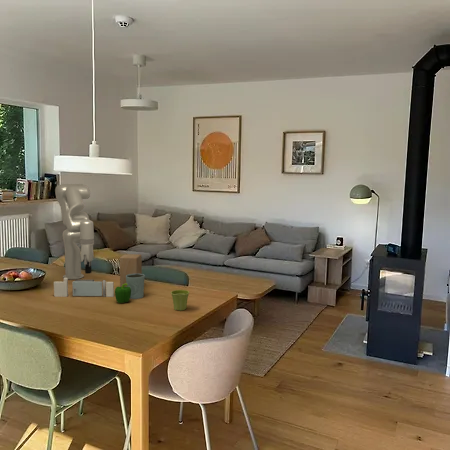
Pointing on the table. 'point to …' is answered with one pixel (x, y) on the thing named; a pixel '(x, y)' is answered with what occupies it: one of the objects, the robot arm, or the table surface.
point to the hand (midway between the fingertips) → (88, 273)
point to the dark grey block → (86, 280)
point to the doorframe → (62, 288)
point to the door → (87, 288)
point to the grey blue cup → (136, 285)
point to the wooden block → (129, 266)
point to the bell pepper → (122, 293)
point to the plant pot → (180, 299)
